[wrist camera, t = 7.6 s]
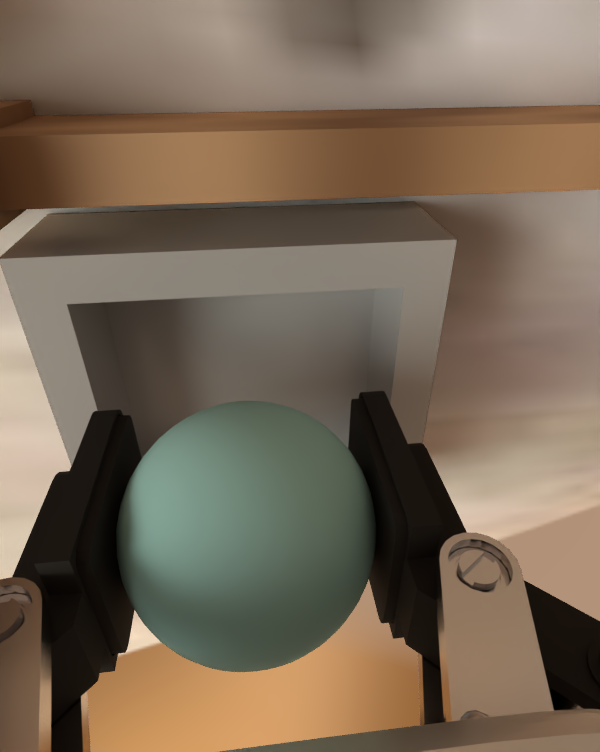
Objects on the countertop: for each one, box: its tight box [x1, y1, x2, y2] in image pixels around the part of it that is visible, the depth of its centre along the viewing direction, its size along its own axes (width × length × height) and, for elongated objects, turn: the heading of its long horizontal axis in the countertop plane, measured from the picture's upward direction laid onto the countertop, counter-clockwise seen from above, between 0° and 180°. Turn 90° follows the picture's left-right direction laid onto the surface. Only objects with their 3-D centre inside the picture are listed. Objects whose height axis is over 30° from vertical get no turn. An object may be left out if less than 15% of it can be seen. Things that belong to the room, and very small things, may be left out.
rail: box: [0, 100, 600, 230], centre depth 10 cm, size 18×2×4 cm, turn 90°
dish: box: [0, 202, 457, 466], centre depth 14 cm, size 9×9×3 cm
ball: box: [116, 401, 376, 672], centre depth 10 cm, size 5×5×5 cm
